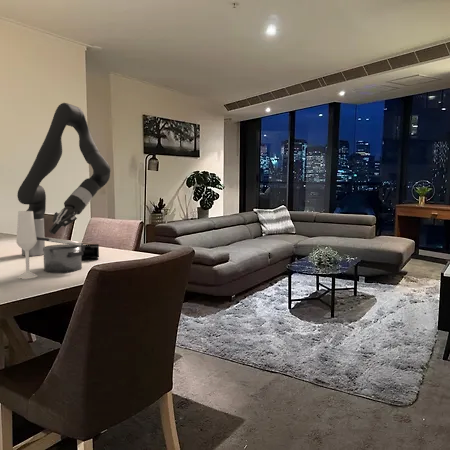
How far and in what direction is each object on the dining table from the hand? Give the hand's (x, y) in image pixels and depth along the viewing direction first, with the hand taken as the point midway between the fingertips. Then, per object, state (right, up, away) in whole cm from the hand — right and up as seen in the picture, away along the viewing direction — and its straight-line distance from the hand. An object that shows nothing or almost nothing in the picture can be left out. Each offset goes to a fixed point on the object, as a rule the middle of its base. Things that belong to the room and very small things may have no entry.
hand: (51, 232), depth 156 cm
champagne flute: (-5, -16, -8) cm, 19 cm away
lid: (+2, -4, +3) cm, 5 cm away
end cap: (+5, -13, +26) cm, 30 cm away
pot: (+2, -15, +5) cm, 16 cm away
